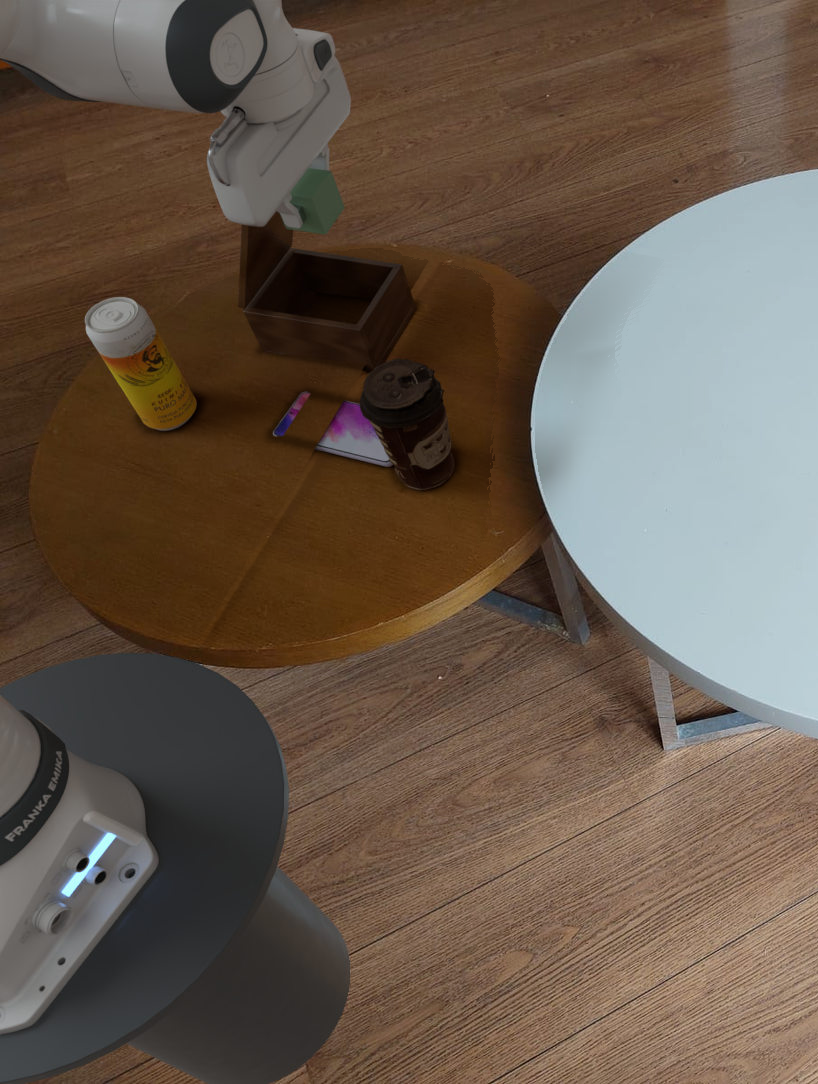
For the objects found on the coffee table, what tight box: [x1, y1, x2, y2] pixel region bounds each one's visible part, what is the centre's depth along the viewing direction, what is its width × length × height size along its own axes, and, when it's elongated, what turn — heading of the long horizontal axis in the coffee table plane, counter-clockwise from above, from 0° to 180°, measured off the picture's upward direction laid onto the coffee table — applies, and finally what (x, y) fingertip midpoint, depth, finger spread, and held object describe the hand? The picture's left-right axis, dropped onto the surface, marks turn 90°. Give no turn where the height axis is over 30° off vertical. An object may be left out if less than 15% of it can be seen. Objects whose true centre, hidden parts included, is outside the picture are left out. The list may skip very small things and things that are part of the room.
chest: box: [243, 247, 417, 374], centre depth 130 cm, size 15×12×7 cm
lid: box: [237, 211, 294, 311], centre depth 122 cm, size 15×12×1 cm
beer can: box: [84, 296, 198, 432], centre depth 120 cm, size 6×6×15 cm
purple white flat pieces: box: [272, 391, 394, 468], centre depth 123 cm, size 7×1×15 cm
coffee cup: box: [359, 358, 455, 491], centre depth 115 cm, size 9×8×13 cm
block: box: [280, 168, 346, 236], centre depth 112 cm, size 4×4×4 cm
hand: (310, 205), depth 112 cm, fingers closed on block, 4 cm apart
